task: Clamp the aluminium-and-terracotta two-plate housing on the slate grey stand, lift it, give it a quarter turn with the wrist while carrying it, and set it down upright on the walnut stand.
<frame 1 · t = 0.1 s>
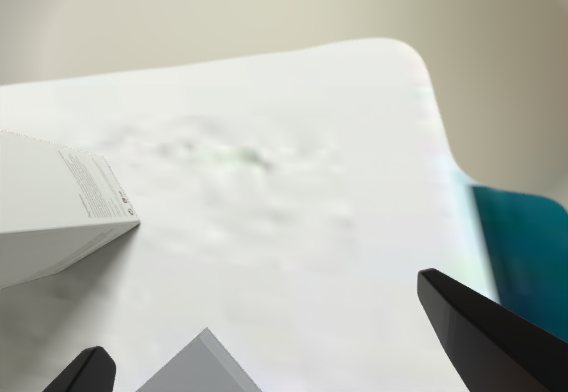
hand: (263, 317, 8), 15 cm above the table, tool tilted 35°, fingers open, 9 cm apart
skincare box: (82, 218, 24), on the table
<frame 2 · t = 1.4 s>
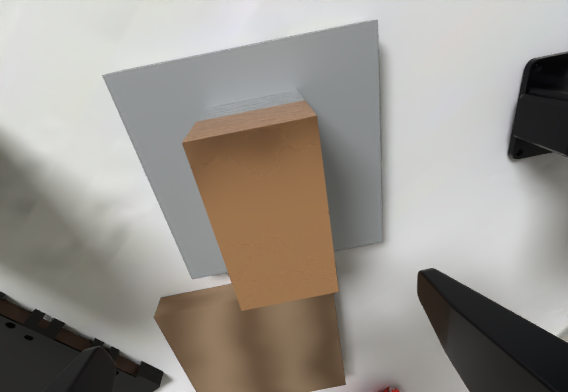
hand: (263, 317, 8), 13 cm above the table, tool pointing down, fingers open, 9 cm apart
cassette tape: (48, 354, 28), on the table
grey stand: (266, 161, 20), on the table
walnut stand: (261, 335, 28), on the table
housing: (267, 173, 18), point 2 cm above the table, touching grey stand
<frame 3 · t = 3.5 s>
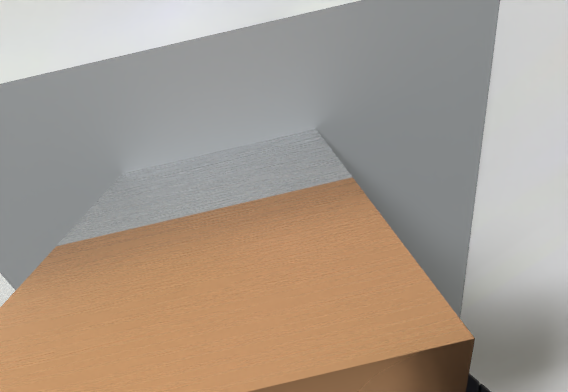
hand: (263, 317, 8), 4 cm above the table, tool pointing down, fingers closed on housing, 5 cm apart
grey stand: (258, 242, 11), on the table
housing: (260, 279, 10), point 2 cm above the table, touching grey stand, gripper
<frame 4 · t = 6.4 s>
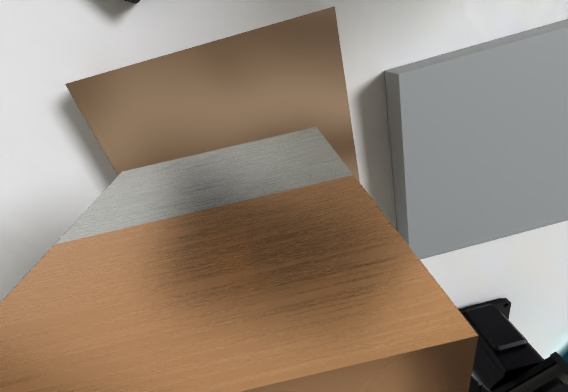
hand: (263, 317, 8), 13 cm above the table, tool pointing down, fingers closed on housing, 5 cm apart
grey stand: (487, 146, 21), on the table
walnut stand: (242, 158, 20), on the table
housing: (261, 278, 10), point 12 cm above the table, touching gripper
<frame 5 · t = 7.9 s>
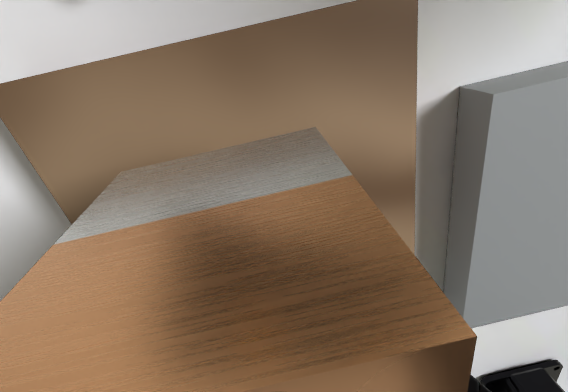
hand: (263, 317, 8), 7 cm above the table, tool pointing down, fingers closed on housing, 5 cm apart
walnut stand: (253, 197, 14), on the table
housing: (260, 278, 10), point 6 cm above the table, touching gripper
when the fingers open (5 cm above the table, at t = 9.2 s): housing drops 1 cm, resting on walnut stand.
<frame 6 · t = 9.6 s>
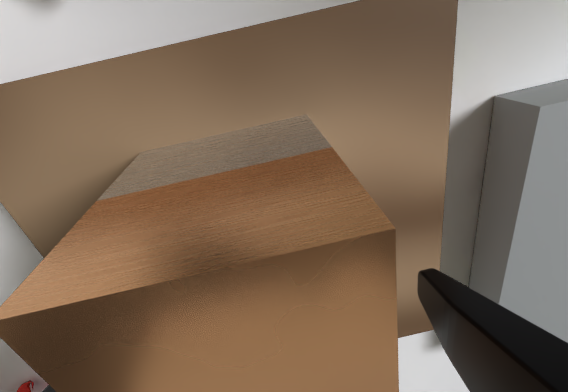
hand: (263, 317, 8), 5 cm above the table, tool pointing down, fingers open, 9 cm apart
walnut stand: (256, 221, 13), on the table
housing: (259, 250, 11), point 2 cm above the table, touching walnut stand
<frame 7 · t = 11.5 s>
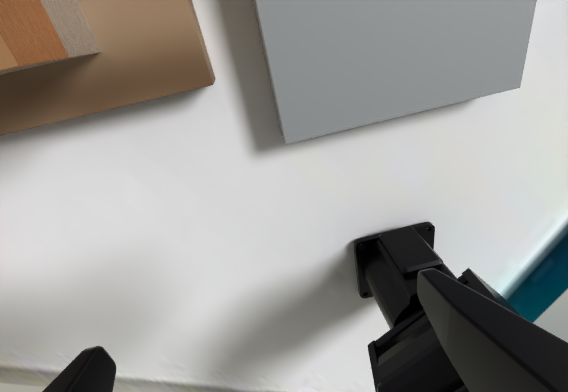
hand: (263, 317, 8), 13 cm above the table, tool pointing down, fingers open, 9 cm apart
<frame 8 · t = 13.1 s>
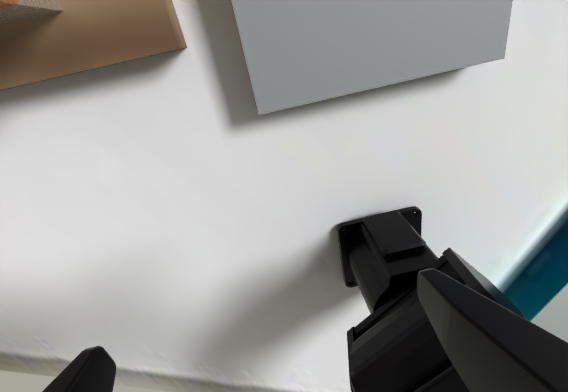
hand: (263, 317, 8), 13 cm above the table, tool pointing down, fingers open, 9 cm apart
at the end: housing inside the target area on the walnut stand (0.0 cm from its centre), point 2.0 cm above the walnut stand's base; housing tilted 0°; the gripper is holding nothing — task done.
